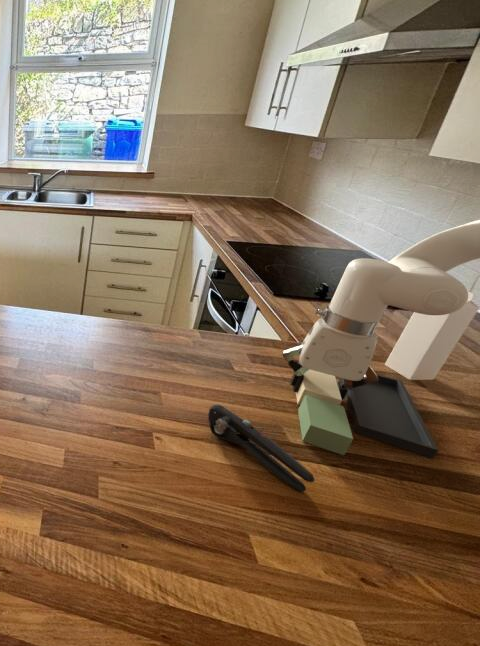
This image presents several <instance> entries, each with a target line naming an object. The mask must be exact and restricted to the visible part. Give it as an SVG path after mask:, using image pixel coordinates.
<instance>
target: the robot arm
mask: <svg viewBox="0 0 480 646" xmlns="http://www.w3.org/2000/svg"><path fill="white" fill-rule="evenodd" d="M479 259H480V219H476V220H473V221H470V222H467V223H464V224H461V225H457V226H454V227H452V228H448V229H445V230H442V231H439V232H437V233H435V234H432V235H430V236H428V237H426V238H424V239H422V240H420V241H418V242H417V243H416V244H415V243H414V244H413V245H412V246H410V247H409V248H406V249H405V250H403V251H401V252H400V253H398V254H397V255H396V256H394V257H393V258H391V259H390V260H388V261H385V260H381V259H376V258H366V257H365V258H362V257H361V258H356V259H353V260H351V261H350V262H349V263H348V264H347V266H346V268H345V270H344V272H343V274H342V277H341V279H340V281H339V283H338V285H337V286H336V290H335V291H334V293H333V296H332V298H331V300H330V303H329V305H327V306H326V308H323V309H320V308H317V309H316V311H315V316H318V317H320V318H318V320H317V321H316V322H315V323H314V324H313V326H312V327H311V328H310V330H309V332H308V333H307V334H306V336H305V337H304V340H303V341H302V343H301V344H300V345H297V346H293V347H291V348H288V349H285V350H283V351H282V352H281V354H282V355H281V356H282V358H283V359H284V360H285V361H286V362H287V364H288V365H289V367H290V368H291V369H292V371H293V374H292V377H291V379H290V381H289V385H290V386H292V392H294V393H296V392H298V390H299V388H300V385H301V383H302V381H303V380H304V375H303V374H304V373H305V372H307V371H308V370H309V369H310V370H314V371H317V372H321V373H325V374H328V375H332V376H335V378H338V377H339V378H342V381H339V380H338V381H337V385H338V388H339V391H340V395H341V398H342V401H343V400H345V398H344V397H345V395H346V393H347V392H348V390H352V389H353V388H354V387H358V386H363V385H365V384H368V383H372V382H377V381H378V380H379V379H378V377H377V375H376V374H377V373H376V372H375V371H374V369H373V367H371V365H370V364H371V362H372V359H373V357H374V354H375V350H376V347H377V343H378V338H379V336H378V335H377V334H376V332H375V330H376V329H377V326H378V325H379V323H380V321H381V319H382V318H383V315H384V313H385V311H386V310H387V308H388V306H391V307H395V308H398V309H401V310H406V311H409V312H412V313H414V312H416V313H420V314H425V315H445V314H450V313H453V312H455V311H457V310H459V309H461V308H462V307H463V306H464V305H465V304H466V302H467V300H468V292H469V291H468V289H467V287H466V286H465V285H464V283H462V281H461V280H459V279H458V278H456V277H454V276H453V275H451V274H450V273H448V271H451V270H453V269H454V268H457V267H459V266H461V265H464V264H466V263H469V262H472V261H475V260H479ZM295 356H299V357H298V361H297V360H296V359H295V358H294V357H295ZM339 378H338V379H339Z"/></svg>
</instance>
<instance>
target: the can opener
mask: <svg viewBox="0 0 480 646" xmlns="http://www.w3.org/2000/svg"><path fill="white" fill-rule="evenodd" d="M207 413H208V415H207V418H208V422H209V429H210V431H211V433H212V435H214V437H216V438H218V439H220V440H224V441H228V442H231V443H234V444H236V445H238V446H240V447H242V448H243V449H244V450H245V451H247V452H248V453H249V454H250V455H251V456H252V457H254V458H255V459H256V460H258V462H259V463H261V464H262V465H263V466H264V467H265V468H266V469H268V471H270V472H271V474H274V476H276V477H277V478H278V479H280V480H281V481H282V482H284V483H285V484H287V485H288V486H290V487H291V488H293V490H296V491H297V492H306V490H307V487H306V485H305V484H304V483H303V482H302V481H301V480H300V479H298V477H300V478H301V479H302V480H304V481H305V482H308V483H314V482H315V478H314V476H313V475H314V474H312V472H310V471H309V470H308V469H307V468H306V467H305V466H304V465H302V464H301V463H300V462H299V461H298V460H297V459H295V458H294V457H293V456H292V455H291V454H289V453H288V452H287V451H286V450H285V449H283V448H282V447H281V446H280V445H278V444H277V443H276V442H275V441H273V440H272V439H270V438H269V437H268V436H267V435H265V434H264V433H263V432H261V431H260V430H259V429H257V428H256V427H254V426H252V424H253V423H252V422H251V421H249V420H247V419H243V418H242V417H240V416H238V415H237V414H236V413H233V412H232V411H231V410H230V409H228V408H226V407H225V406H223V405H221V404H213V405H212V406H210V407H209V410H208V412H207ZM277 460H278V461H277ZM279 462H280V463H279ZM282 464H283V465H284V466H283V465H282ZM286 467H287V468H288V469H289V470H291V471H292V472H293V473H295V474H296V475H297V476H298V477H297V476H295V475H294V474H293V473H292V472H291V471H289V470H288V469H287V468H286Z"/></svg>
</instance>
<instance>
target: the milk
mask: <svg viewBox="0 0 480 646" xmlns="http://www.w3.org/2000/svg"><path fill="white" fill-rule="evenodd" d="M475 296H476V294H475V293H474V292H471V291H468V300H467V302H466V304H465V305H464V306H463V307H462V308H461V309H459V310H457V311H455V312H453V313H450V314H445V315H425V314H420V313H416V312H412V315H411V316H410V318H409V320H408V322H407V324H406V325H405V327H404V328H403V330H402V332H401V334H400V336H399V338H398V340H397V341H396V343H395V345H394V347H393V349H392V351H391V352H390V354H389V356H388V357H387V359H386V361H385V363H384V366H386V367H387V368H389V369H391V370H392V371H393V372H396V373H397V374H399V375H400V376H402V377H404V378H405V379H407V380H409V381H432V380H435V378H437V376H438V374H439V372H440V371H441V369H442V368H443V366H444V364H445V363H446V361H447V360H448V358H449V357H450V355H451V354H452V352H453V350H455V347H456V346H457V344H458V342H459V341H460V339H461V338H462V337H463V334H464V333H465V332H466V330H467V328H468V327H469V325H470V324H471V322H472V321H473V319H474V318H475V316H476V314H477V313H478V312H479V310H480V306H478V305H477V304H476V303H475V302H474V301H473V300H474V298H475Z"/></svg>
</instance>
